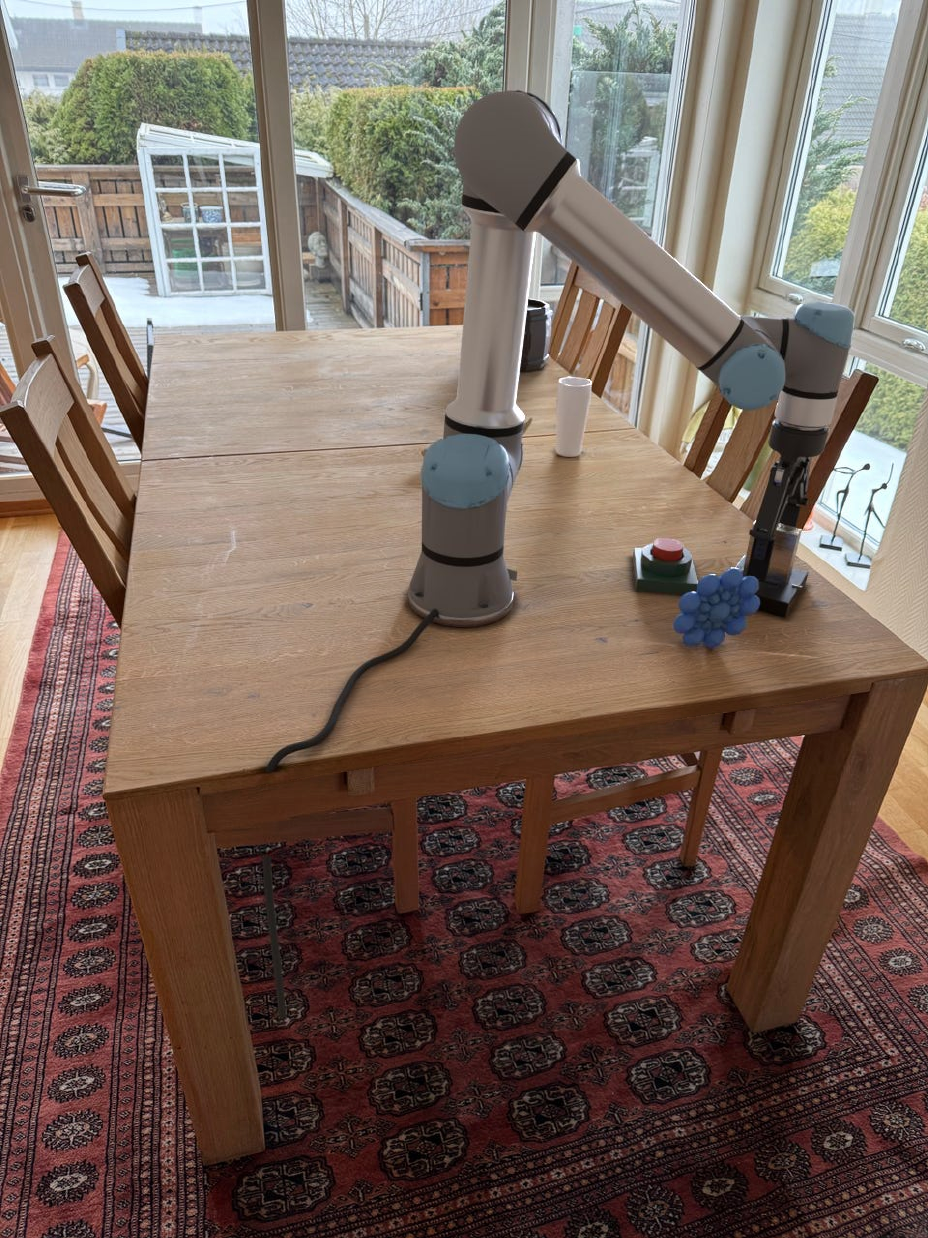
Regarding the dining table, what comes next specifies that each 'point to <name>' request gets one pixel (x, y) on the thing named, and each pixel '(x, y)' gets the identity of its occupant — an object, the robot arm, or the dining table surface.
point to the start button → (667, 549)
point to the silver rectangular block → (779, 554)
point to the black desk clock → (536, 335)
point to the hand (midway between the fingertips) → (769, 560)
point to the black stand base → (778, 592)
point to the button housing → (663, 572)
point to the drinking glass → (571, 414)
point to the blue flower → (717, 608)
